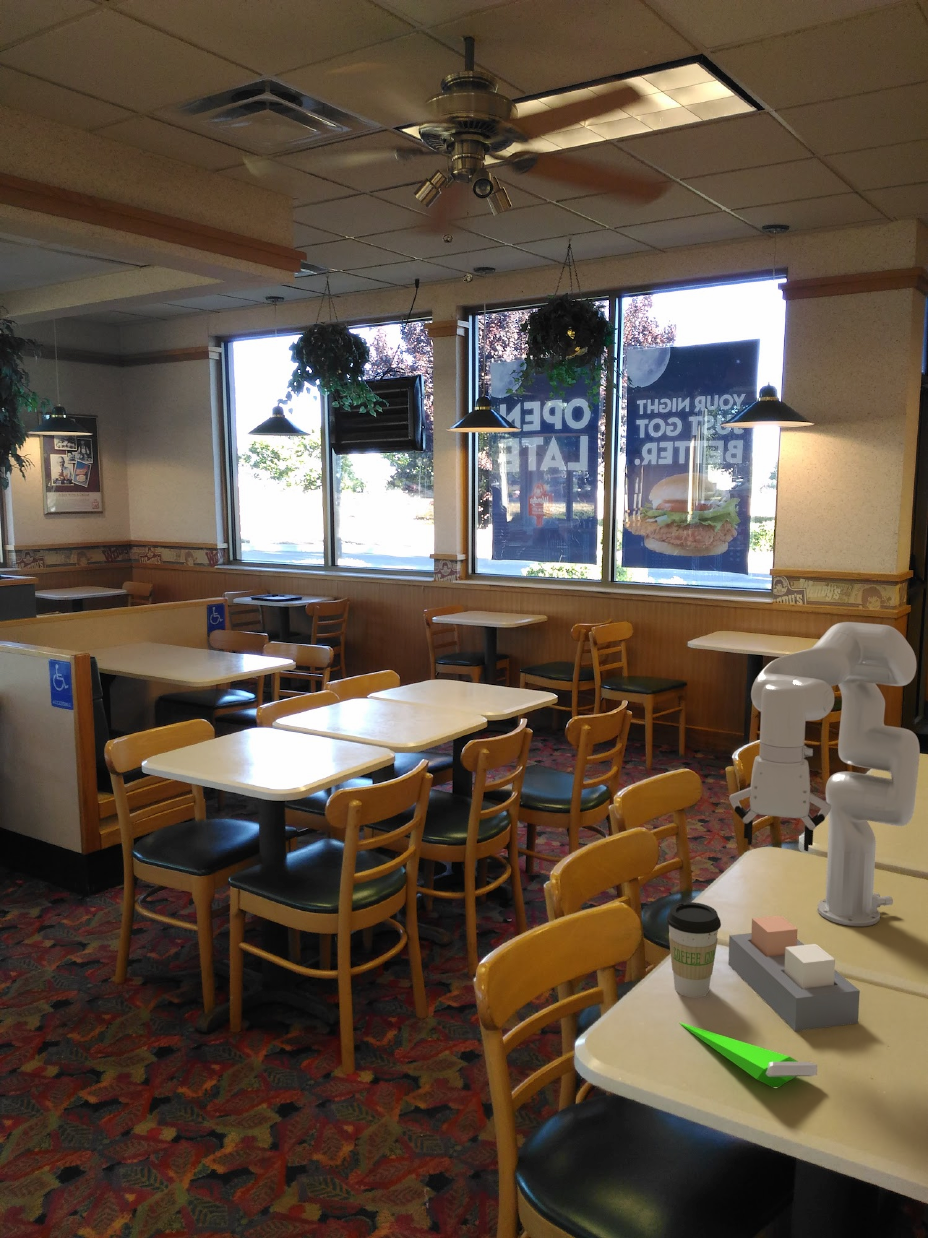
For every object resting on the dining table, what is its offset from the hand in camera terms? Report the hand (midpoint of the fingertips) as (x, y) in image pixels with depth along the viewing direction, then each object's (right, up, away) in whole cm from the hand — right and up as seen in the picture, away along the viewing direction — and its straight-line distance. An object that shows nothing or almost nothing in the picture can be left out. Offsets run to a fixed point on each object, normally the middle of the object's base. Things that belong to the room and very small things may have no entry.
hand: (777, 845), depth 172 cm
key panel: (+4, -28, +4) cm, 29 cm away
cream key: (+5, -24, -2) cm, 25 cm away
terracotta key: (+2, -23, +10) cm, 25 cm away
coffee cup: (-14, -28, +6) cm, 32 cm away
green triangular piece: (-13, -31, -18) cm, 38 cm away
